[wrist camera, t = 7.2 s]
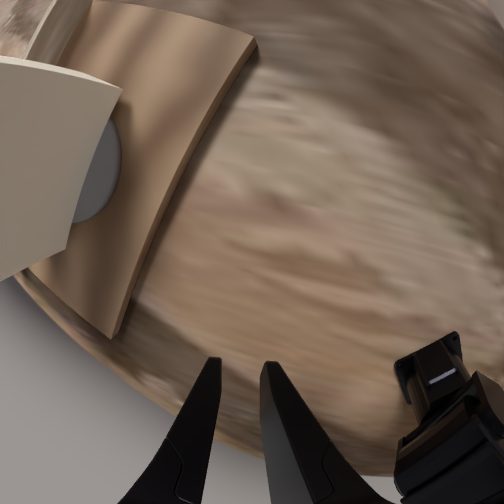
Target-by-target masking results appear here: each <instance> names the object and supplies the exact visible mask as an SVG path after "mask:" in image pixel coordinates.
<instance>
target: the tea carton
mask: <svg viewBox="0 0 504 504" xmlns="http://www.w3.org/2000/svg"><path fill="white" fill-rule="evenodd" d="M122 90H123V89H121V88H119V87H117V86H114V85H112V84H110V83H107V82H105V81H103V80H100V79H98V78H95V77H93V76H90V75H88V74H85V73H82V72H79V71H75V70H71V69H67V68H63V67H59V66H54V65H50V64H45V63H40V62H35V61H30V60H25V59H19V58H13V57H7V56H0V281H2V280H4V279H6V278H7V277H10V276H11V275H13V274H15V273H17V272H19V271H21V270H23V269H25V268H27V267H29V266H31V265H33V264H35V263H37V262H39V261H41V260H43V259H45V258H48V257H50V256H52V255H54V254H56V253H58V252H60V251H62V250H65V248H66V244H67V240H68V235H69V231H70V227H71V224H72V223H77V222H81V221H84V220H87V219H90V218H92V217H94V216H95V215H97V214H98V213H100V212H101V211H102V210H103V209H104V207H105V206H106V205H107V204H108V202H109V201H110V199H111V197H112V195H113V193H114V191H115V189H116V186H117V183H118V179H119V175H120V169H121V156H122V155H121V143H120V137H119V133H118V130H117V127H116V125H115V123H114V121H113V119H112V117H111V116H110V115H111V113H112V111H113V109H114V106H115V104H116V102H117V100H118V98H119V96H120V94H121V92H122Z"/></svg>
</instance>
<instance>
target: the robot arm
mask: <svg viewBox="0 0 504 504" xmlns="http://www.w3.org/2000/svg"><path fill="white" fill-rule="evenodd" d="M454 336H455V337H454ZM453 337H454V338H453ZM400 364H402V365H400ZM399 365H400V366H399ZM395 368H396V371H397V374H398V377H399V380H400V383H401V386H402V389H403V392H404V395H405V398H406V402H407V404H412V406H413V409H414V412H415V416H416V419H417V422H418V426H419V427H417V428H416V429H415V430H414V431H412V432H411V433H410V434H408V435H407V436H406V437H403V438H402V439H400V440H399V442H398V450H397V457H396V464H395V470H394V483H395V486H396V488H397V490H398V492H399V493H400V494H401V496H403V497H404V498H402V499H401V500H400V502H401V503H402V504H504V391H503V389H502V388H501V387H500V385H499V384H497V383H495V382H494V381H492V380H491V379H489V378H488V377H486V376H485V375H483V374H481V373H480V372H478V371H477V370H476V371H475V372H474V374H473V375H472V377H471V376H470V374H469V373H468V371H467V369H466V368H465V366H464V364H463V360H462V352H461V344H460V337H459V334H458V333H457V332H456V331H454V332H452V333H450V334H448V335H446V336H444V337H443V338H441V339H439V340H437V341H435V342H433V343H432V344H430V345H428V346H426V347H424V348H422V349H420V350H418V351H416V352H414V353H412V354H410V355H408V356H406V357H404V358H401V359H399V360H398V361H396V362H395ZM221 391H222V359H221V358H220V357H209V358H208V360H207V361H206V363H205V365H204V367H203V369H202V371H201V373H200V375H199V376H198V378H197V380H196V382H195V384H194V386H193V388H192V390H191V391H190V393H189V395H188V397H187V399H186V401H185V403H184V404H183V406H182V408H181V410H180V412H179V414H178V415H177V417H176V419H175V421H174V423H173V425H172V427H171V428H170V430H169V432H168V434H167V436H166V438H165V439H164V441H163V443H162V445H161V447H160V448H159V450H158V452H157V453H156V455H155V456H154V458H153V460H152V461H151V462H150V464H149V466H148V467H147V468H146V469H145V471H144V472H143V473H142V475H141V476H140V477H139V479H138V480H137V481H136V482H135V483H134V485H133V486H132V487H131V488H130V490H129V491H128V492H127V493H126V495H125V496H124V497H123V498H122V499H121V500H120V501H119V503H117V504H201V500H202V495H203V490H204V484H205V479H206V473H207V468H208V463H209V457H210V452H211V446H212V441H213V436H214V430H215V425H216V420H217V414H218V409H219V403H220V398H221ZM260 425H261V433H262V440H263V448H264V455H265V462H266V470H267V476H268V483H269V491H270V498H271V504H395V503H392V502H390V501H387V500H386V499H384V498H383V497H381V496H380V495H379V494H378V493H376V492H375V491H374V490H373V489H372V488H371V487H370V486H369V485H368V484H367V483H366V482H365V481H364V479H363V478H362V477H361V476H360V475H359V474H358V473H357V472H356V471H355V470H354V469H353V468H352V467H351V466H350V464H349V463H348V462H347V461H346V460H345V459H344V457H343V456H342V455H341V453H340V452H339V451H338V449H337V448H336V447H335V445H334V444H333V442H332V441H330V438H329V437H328V435H327V434H326V432H325V431H324V430H323V428H322V427H321V425H320V424H319V422H318V421H317V419H316V418H315V416H314V415H313V414H312V412H311V411H310V409H309V408H308V406H307V405H306V403H305V402H304V400H303V399H302V397H301V396H300V394H299V393H298V391H297V390H296V388H295V387H294V385H293V384H292V382H291V381H290V379H289V378H288V376H287V375H286V373H285V372H284V370H283V369H282V367H281V366H280V364H279V363H278V362H277V361H266V362H265V363H264V366H263V369H262V372H261V375H260Z"/></svg>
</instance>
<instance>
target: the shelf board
mask: <svg viewBox="0 0 504 504" xmlns="http://www.w3.org/2000/svg"><path fill="white" fill-rule="evenodd" d="M256 46H257V43H256V40H255V38H254V37H253V36H251V35H248V34H245V33H243V32H240V31H237V30H234V29H231V28H228V27H225V26H222V25H219V24H216V23H213V22H210V21H206V20H203V19H199V18H195V17H192V16H188V15H184V14H180V13H175V12H171V11H166V10H162V9H156V8H151V7H145V6H139V5H132V4H125V3H117V2H107V1H93V0H53V1H52V3H51V4H50V6H49V8H48V9H47V11H46V13H45V14H44V16H43V18H42V20H41V21H40V23H39V25H38V27H37V29H36V31H35V33H34V35H33V37H32V39H31V41H30V43H29V45H28V47H27V49H26V51H25V53H24V55H23V58H22V59H25V60H30V61H35V62H40V63H45V64H50V65H54V66H59V67H63V68H67V69H71V70H75V71H79V72H82V73H85V74H88V75H90V76H93V77H95V78H98V79H100V80H103V81H105V82H107V83H110V84H112V85H114V86H117V87H119V88H121V89H123V90H122V92H121V94H120V96H119V98H118V100H117V102H116V104H115V106H114V109H113V111H112V113H111V115H110V116H111V117H112V119H113V121H114V123H115V125H116V127H117V130H118V133H119V137H120V143H121V155H122V156H121V169H120V175H119V179H118V183H117V186H116V189H115V191H114V193H113V195H112V197H111V199H110V201H109V202H108V204H107V205H106V206H105V207H104V209H103V210H102V211H101V212H100V213H98V214H97V215H95V216H94V217H92V218H90V219H87V220H84V221H81V222H77V223H72V224H71V227H70V231H69V235H68V240H67V244H66V248H65V250H62V251H60V252H58V253H56V254H54V255H52V256H50V257H48V258H45V259H43V260H41V261H39V262H37V263H35V264H33V265H31V266H29V267H28V268H29V269H30V270H31V271H32V272H33V273H34V274H35V275H36V276H37V277H38V278H39V279H40V280H41V281H42V282H43V283H44V284H45V285H46V286H47V287H48V288H49V289H50V290H52V291H53V292H54V293H55V294H56V295H57V296H58V297H59V298H60V299H61V300H63V301H64V302H65V303H66V304H67V305H68V306H69V307H71V308H72V309H73V310H74V311H75V312H76V313H78V314H79V315H80V316H81V317H82V318H84V319H85V320H86V321H87V322H89V323H90V324H91V325H92V326H94V327H95V328H96V329H97V330H99V331H100V332H101V333H103V334H104V335H105V336H107V337H108V338H109V339H112V338H113V337H114V336H115V335H116V334H117V333H118V332H119V330H120V326H121V323H122V320H123V317H124V314H125V312H126V309H127V306H128V303H129V300H130V297H131V295H132V292H133V289H134V286H135V284H136V281H137V278H138V276H139V273H140V270H141V268H142V265H143V263H144V260H145V258H146V255H147V253H148V250H149V248H150V245H151V243H152V241H153V238H154V236H155V234H156V231H157V229H158V227H159V224H160V222H161V220H162V217H163V215H164V213H165V211H166V209H167V206H168V204H169V202H170V200H171V198H172V195H173V193H174V191H175V189H176V187H177V185H178V183H179V181H180V179H181V177H182V175H183V173H184V171H185V169H186V167H187V165H188V163H189V161H190V159H191V157H192V155H193V153H194V151H195V149H196V147H197V145H198V143H199V141H200V140H201V138H202V136H203V134H204V132H205V130H206V128H207V127H208V125H209V123H210V121H211V119H212V118H213V116H214V114H215V112H216V111H217V109H218V107H219V105H220V104H221V102H222V100H223V99H224V97H225V95H226V93H227V92H228V90H229V88H230V87H231V85H232V84H233V82H234V80H235V79H236V77H237V75H238V74H239V72H240V71H241V69H242V68H243V66H244V64H245V63H246V61H247V60H248V58H249V57H250V55H251V54H252V52H253V51H254V49H255V48H256Z"/></svg>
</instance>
